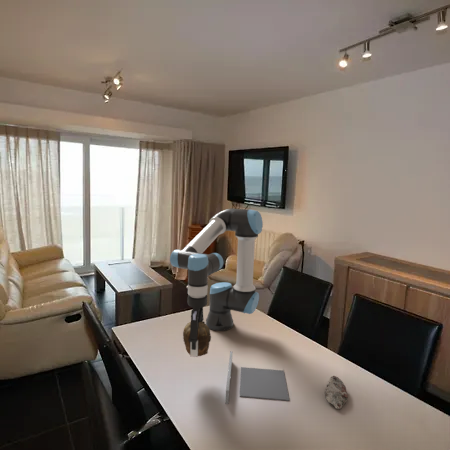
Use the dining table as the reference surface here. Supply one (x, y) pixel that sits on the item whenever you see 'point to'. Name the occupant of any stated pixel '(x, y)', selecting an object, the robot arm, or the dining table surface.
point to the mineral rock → (336, 392)
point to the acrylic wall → (228, 378)
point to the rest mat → (263, 384)
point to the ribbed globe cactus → (202, 338)
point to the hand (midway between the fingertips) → (196, 347)
